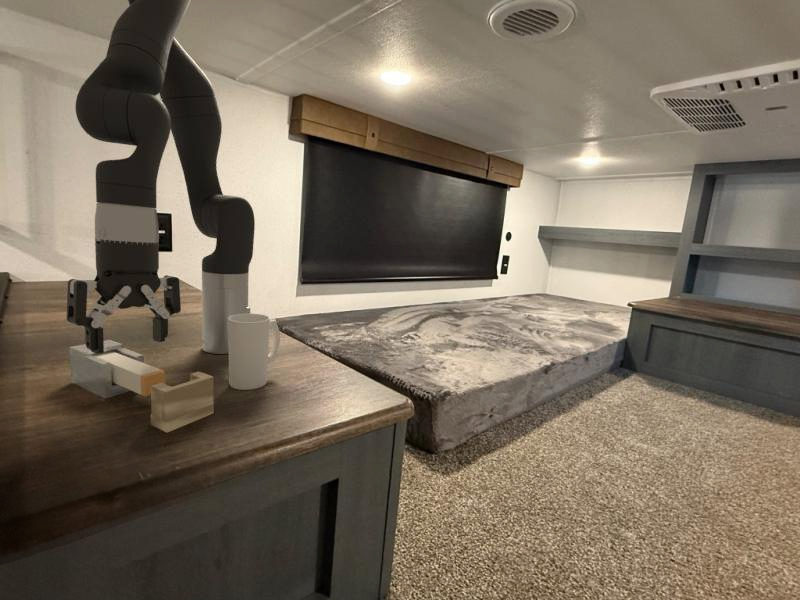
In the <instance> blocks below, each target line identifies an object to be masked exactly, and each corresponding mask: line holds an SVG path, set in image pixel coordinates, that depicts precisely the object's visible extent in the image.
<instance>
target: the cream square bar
mask: <svg viewBox="0 0 800 600" xmlns="http://www.w3.org/2000/svg"><path fill="white" fill-rule="evenodd" d="M90 355H93V356H95V357H98V358H100V359H103V360H105V361H108V362H110V363H111V380H112V382H113V383H116V384H118V385H120V386H123V387H125V388H127V389H129V390H132V391H131V392H134V393H135V394H138V395H141V396H143V397H148V396H151V386H152V385H156V384H159V383H163V384H165V385H166V370H163V369H160V368H157V367H155V366H153V365H149V364H148V363H145V362H144V363H142V362H139V361H137V360H134V359H131V358H129V357H126V356H123V355H121V354H118V353H116V352H113V351H110V350H109V351H104V352H103V353H99V354H96V353H94V354H90Z"/></svg>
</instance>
